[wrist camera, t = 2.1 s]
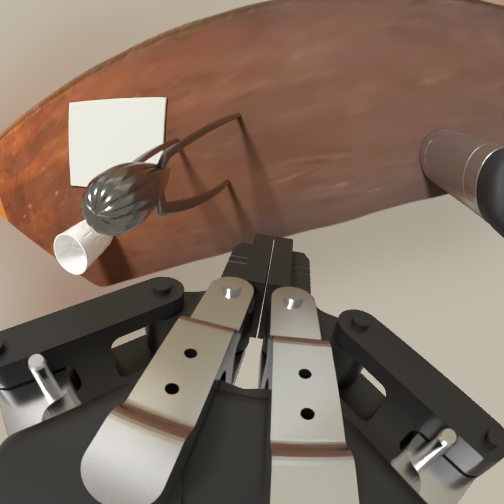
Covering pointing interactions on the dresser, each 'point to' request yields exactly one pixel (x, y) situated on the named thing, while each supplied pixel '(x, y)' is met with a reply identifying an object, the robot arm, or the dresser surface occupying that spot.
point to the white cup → (79, 247)
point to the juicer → (140, 188)
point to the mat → (112, 134)
